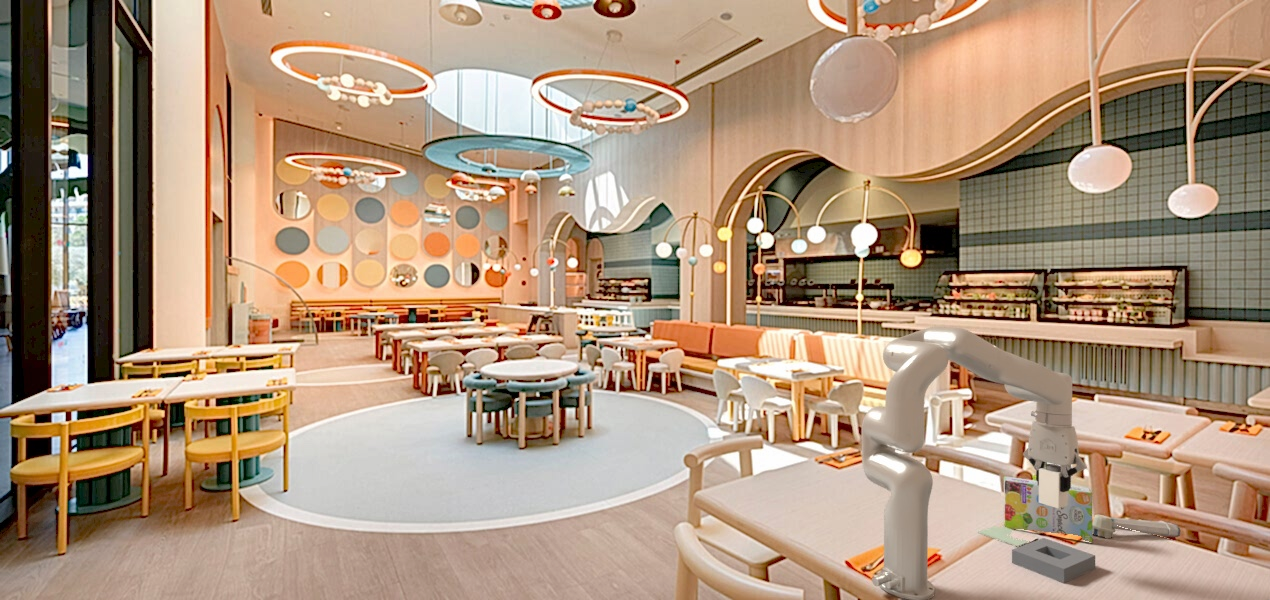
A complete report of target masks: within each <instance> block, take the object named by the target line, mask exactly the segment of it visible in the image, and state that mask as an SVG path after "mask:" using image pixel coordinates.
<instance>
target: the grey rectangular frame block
mask: <svg viewBox="0 0 1270 600" xmlns="http://www.w3.org/2000/svg"><path fill="white" fill-rule="evenodd" d="M1011 564H1014V565H1017V566H1019V567H1022V568H1024V569H1027V570H1029V571H1032V572H1035V573H1037V574H1040V575H1041V576H1045V577H1047V578H1049V579H1052V580H1055V581H1058V582H1060V583H1063V584H1065V583H1067V582H1070V581H1072V580H1074V579H1076V578H1079V577H1080V576H1082V575H1085V574H1087V573H1090V572H1091V571H1094V570H1095V569H1096V555H1095V554H1092V553H1089V552H1086V551H1084V550H1080V549H1077V548H1075V547H1071V546H1069V545H1066V544H1063V543H1060V542H1056V541H1054V540H1051V539H1049V538H1045V537H1043V538H1040V539H1038V540H1036V541H1033V542H1031V543H1028V544H1025V545H1023V546H1020V547H1015V548H1014V549H1011Z"/></svg>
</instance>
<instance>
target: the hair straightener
mask: <svg viewBox="0 0 1270 600" xmlns="http://www.w3.org/2000/svg"><path fill="white" fill-rule="evenodd" d="M1117 525H1118V526H1117ZM1119 526H1121V527H1119ZM1122 527H1124V528H1122ZM1125 528H1128V529H1125ZM1130 529H1131V530H1130ZM1116 530H1119V531H1120V530H1121V531H1126V532H1127V531H1128V532H1135V531H1132V530H1136V531H1140V532H1139V533H1142V534H1148V535H1155V536H1161V537H1164V538H1167V537H1168V538H1169V537H1170V538H1178V537H1180V536H1181V532H1182V530H1181V528H1180V527H1179V525H1177V524H1175V523H1173V522H1172V523H1171V522H1166V521H1163V520H1158V521H1156V520H1144V519H1143V520H1142V519H1134V518H1133V519H1131V518H1121V517H1118V518H1117V517H1110V516H1107V515H1103V514H1097V513H1096V514H1095V515H1094V517H1093V519H1092V533H1093V534H1095V535H1094V536H1096V535H1098V536H1097V537H1103V538H1104V537H1105V538H1104V539H1108V538H1110V539H1112V538H1113V536H1114V535H1113V534H1114V533H1116ZM1093 534H1092V535H1093ZM1111 537H1112V538H1111Z"/></svg>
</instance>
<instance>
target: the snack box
mask: <svg viewBox="0 0 1270 600" xmlns="http://www.w3.org/2000/svg"><path fill="white" fill-rule="evenodd" d="M1003 523H1004V527H1007V528H1009V529H1012V530H1014V529H1024V530H1034V531H1044V532H1051V533H1064V534H1073V535H1078V536H1081V537H1082V539H1083V540H1085V541H1089V542H1092V543H1093V534H1092V523H1093V492H1092V491H1091V489H1090V488H1089V487H1084V486H1077V485H1071V488H1070V489H1069V491H1068V506H1065V507H1061V508H1055V507H1052V506H1048V505H1045V504H1042V503H1039V486H1038V481H1035V480H1033V479H1028V478H1020V477H1012V476H1003Z"/></svg>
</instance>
